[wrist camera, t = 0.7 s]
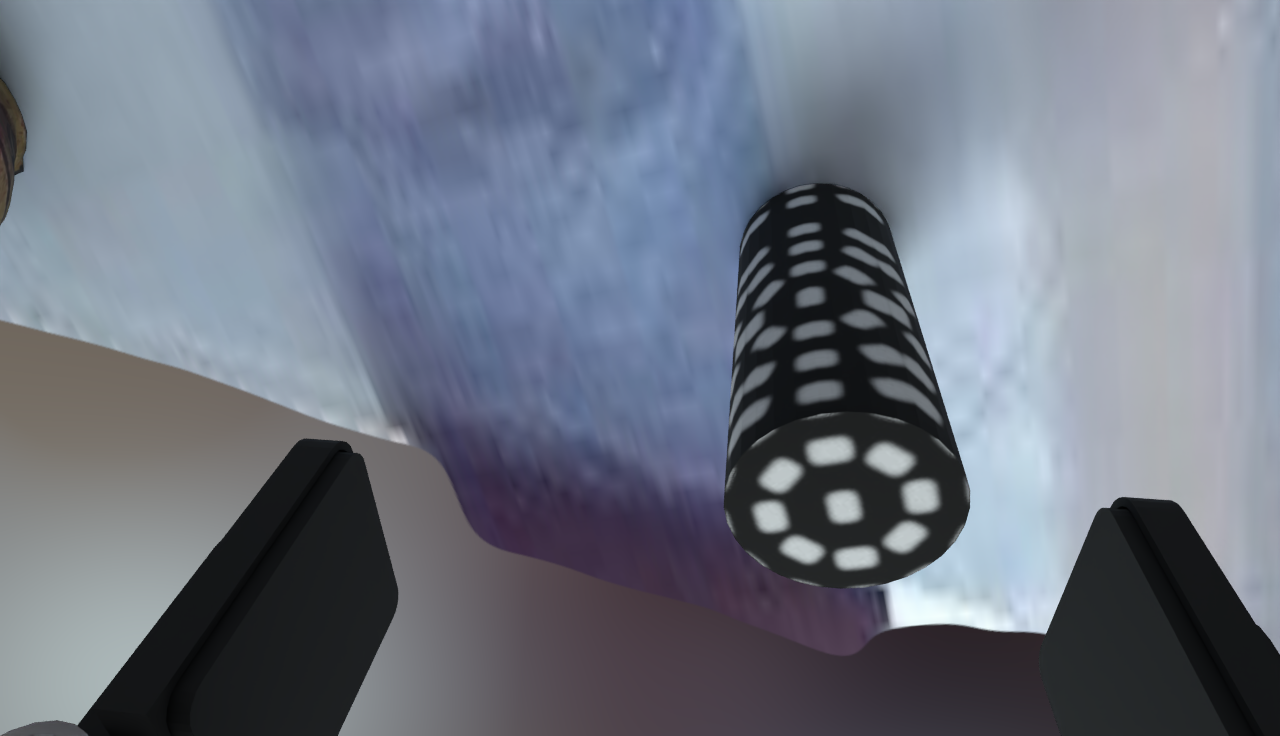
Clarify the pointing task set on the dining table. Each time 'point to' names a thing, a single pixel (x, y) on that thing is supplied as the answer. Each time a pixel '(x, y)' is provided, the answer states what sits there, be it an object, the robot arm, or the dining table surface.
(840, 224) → the spotted tube
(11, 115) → the ceramic jug
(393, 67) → the dining table surface
